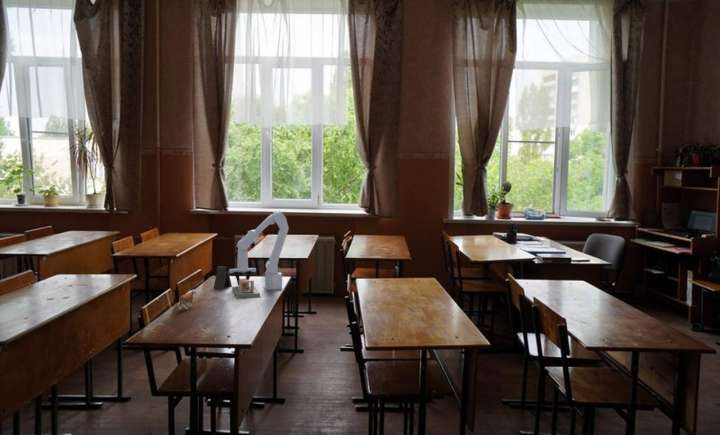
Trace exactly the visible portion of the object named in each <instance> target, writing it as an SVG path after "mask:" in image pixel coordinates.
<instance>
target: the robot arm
mask: <svg viewBox="0 0 720 435" xmlns="http://www.w3.org/2000/svg"><path fill="white" fill-rule="evenodd" d="M275 224H277V227H278V228H279V230H278V233H277V236H276V239H275V243H274V245H273V249H272V251H271V254H270V256H269V259H268V260H267V261H266V262H265V268H266V271H265V272H264V277H265V278H264V285H263V288H264V289H265V290H267V291H268V290H269V291H270V290H272V291H273V290H282V289H283V273H282V272H279V271H278V270H279V269H278V268H279V265H278V264H279V260H280V256H281V253H282V250H283V247H284V244H285V241H286V239H287V235H288V232H289V229H290V228H289V224H288V221H287V217H286V216H285V215H284V213H283V212H281V211H280V210H276V211H274V212H272V213H271V214H270V215H269V216H267V217H266V218H265V219H264V220H263V221H262V222H261V223H260V224H259V225H258V226H257V227H256V228H255V229H251V230H248V231H247V234H245V235H244V236H243V237H241V239H239V240H238V242H237V244H236V246H237V248H238V249H237V268H230V269H229V274H234V277H235V279H236V282H237V286H239V279H240V273H245V278H246V279H247V280H250V279H251V278H250V277H252V273H256V272H257V268H256V267H249V253H248V249H249V246H251V245H252V244H253V243H254V242H255V241H257V239H258V238H259V236H260V235H259V234H261V233H262V232H263V231H264V230H265V229H266V228H268V226H269V225H275Z"/></svg>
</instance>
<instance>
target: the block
mask: <svg viewBox="0 0 720 435" xmlns="http://www.w3.org/2000/svg"><path fill="white" fill-rule="evenodd" d="M239 280H247V279H246V277H245V278H239ZM249 286H250V283H242V290H245V289H249Z"/></svg>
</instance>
